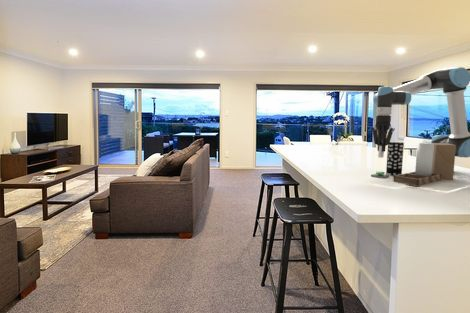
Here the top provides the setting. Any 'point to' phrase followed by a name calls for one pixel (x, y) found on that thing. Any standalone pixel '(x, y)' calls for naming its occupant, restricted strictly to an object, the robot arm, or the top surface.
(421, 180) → the divided wooden tray
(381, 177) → the button housing
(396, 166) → the spotted tube
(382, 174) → the button
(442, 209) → the top surface
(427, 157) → the seated billet
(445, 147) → the wooden block
